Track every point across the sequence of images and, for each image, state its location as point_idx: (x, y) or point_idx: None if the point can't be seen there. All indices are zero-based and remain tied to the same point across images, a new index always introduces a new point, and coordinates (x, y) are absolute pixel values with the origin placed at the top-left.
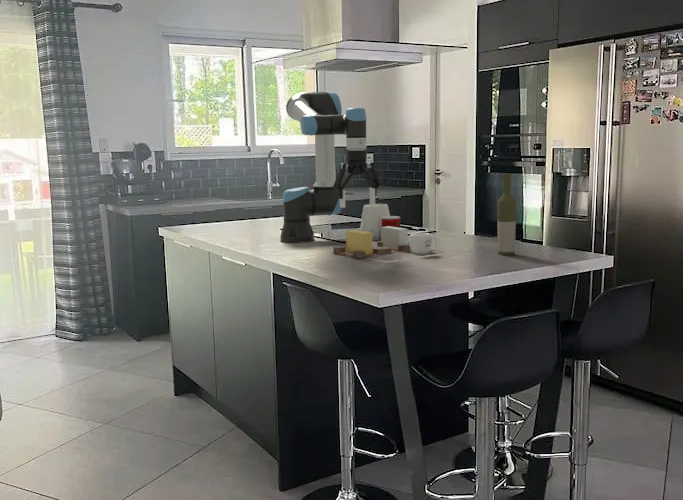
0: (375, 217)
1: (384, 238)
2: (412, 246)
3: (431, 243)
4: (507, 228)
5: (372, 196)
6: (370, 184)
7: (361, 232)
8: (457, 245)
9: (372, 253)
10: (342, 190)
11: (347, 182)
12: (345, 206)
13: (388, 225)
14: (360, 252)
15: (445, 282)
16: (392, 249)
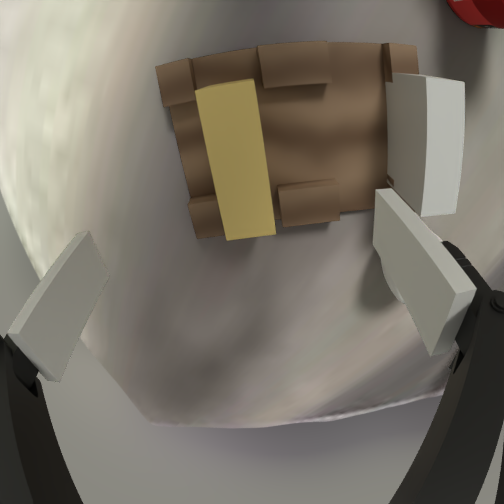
0: None
1: (402, 95)
2: (382, 266)
3: None
4: None
5: (402, 275)
6: (465, 356)
7: (238, 197)
8: None
9: (273, 189)
10: (38, 370)
11: (59, 451)
12: (106, 281)
13: (493, 4)
14: (203, 237)
15: (247, 424)
16: (378, 154)
